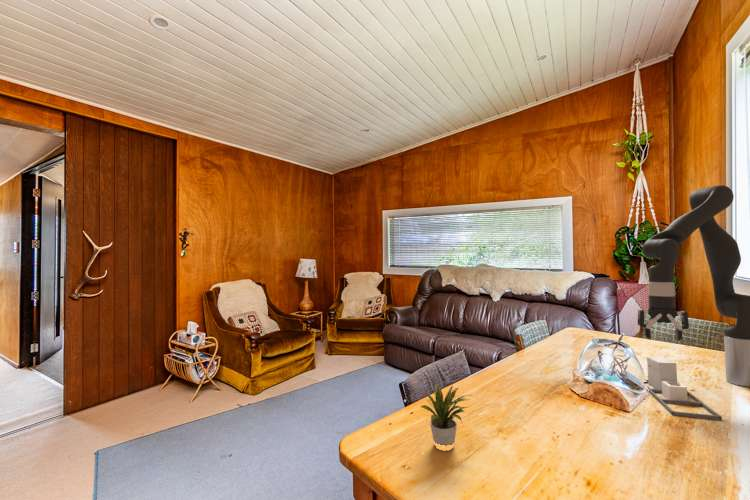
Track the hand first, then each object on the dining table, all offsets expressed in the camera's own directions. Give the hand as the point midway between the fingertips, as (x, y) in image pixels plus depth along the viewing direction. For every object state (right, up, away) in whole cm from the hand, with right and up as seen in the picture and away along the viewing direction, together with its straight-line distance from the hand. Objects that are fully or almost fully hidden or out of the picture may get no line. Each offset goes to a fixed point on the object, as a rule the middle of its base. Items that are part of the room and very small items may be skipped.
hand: (662, 339), depth 126 cm
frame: (-1, -19, -6) cm, 20 cm away
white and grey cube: (-1, -19, -6) cm, 20 cm away
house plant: (-85, -21, -33) cm, 94 cm away
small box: (+3, -19, +3) cm, 20 cm away
